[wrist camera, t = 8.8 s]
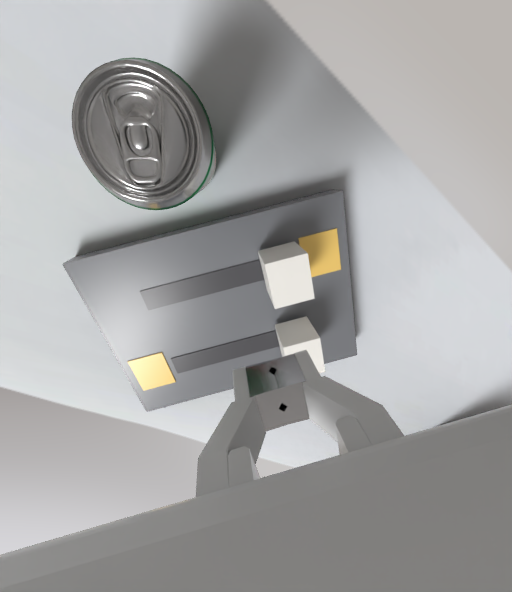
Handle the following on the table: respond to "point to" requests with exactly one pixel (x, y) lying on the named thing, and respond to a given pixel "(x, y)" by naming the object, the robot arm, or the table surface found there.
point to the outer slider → (300, 340)
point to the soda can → (143, 133)
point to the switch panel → (215, 297)
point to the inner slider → (287, 274)
